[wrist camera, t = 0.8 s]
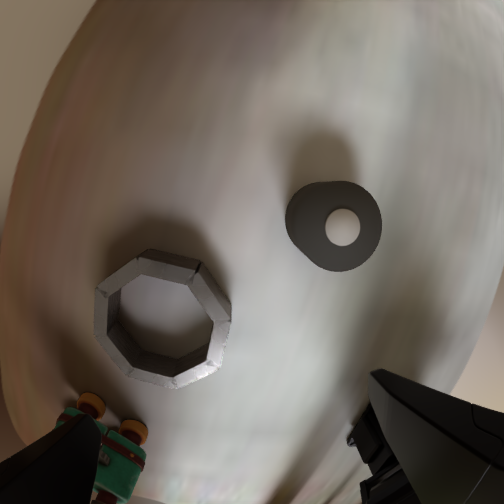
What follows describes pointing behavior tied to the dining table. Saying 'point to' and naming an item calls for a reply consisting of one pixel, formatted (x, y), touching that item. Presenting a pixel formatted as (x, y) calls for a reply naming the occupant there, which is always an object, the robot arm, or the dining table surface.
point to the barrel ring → (152, 364)
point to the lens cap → (334, 224)
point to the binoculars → (113, 452)
